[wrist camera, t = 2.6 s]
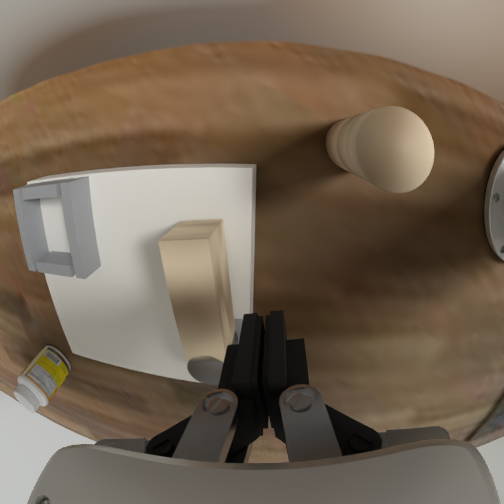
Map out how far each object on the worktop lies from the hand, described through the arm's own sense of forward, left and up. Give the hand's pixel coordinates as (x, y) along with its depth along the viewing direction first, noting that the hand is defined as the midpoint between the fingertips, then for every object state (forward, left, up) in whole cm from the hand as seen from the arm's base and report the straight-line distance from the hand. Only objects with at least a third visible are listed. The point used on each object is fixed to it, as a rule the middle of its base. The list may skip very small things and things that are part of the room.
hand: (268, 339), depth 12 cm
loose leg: (-5, -8, -12) cm, 15 cm away
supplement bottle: (+31, +20, -12) cm, 38 cm away
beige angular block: (+4, +3, -8) cm, 10 cm away
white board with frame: (+12, +4, -12) cm, 17 cm away
